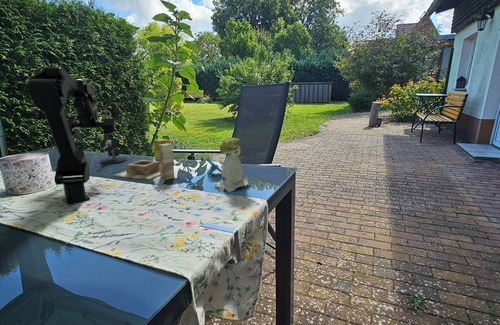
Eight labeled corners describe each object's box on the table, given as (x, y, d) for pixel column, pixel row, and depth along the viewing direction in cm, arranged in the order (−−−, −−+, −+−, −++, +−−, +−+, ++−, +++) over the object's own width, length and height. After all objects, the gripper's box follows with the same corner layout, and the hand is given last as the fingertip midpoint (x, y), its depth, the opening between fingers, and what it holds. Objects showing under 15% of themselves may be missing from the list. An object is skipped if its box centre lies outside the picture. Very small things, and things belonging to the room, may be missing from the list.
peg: (174, 177, 117) (172, 144, 113) (165, 179, 114) (163, 145, 111) (169, 175, 119) (166, 143, 116) (160, 177, 116) (157, 144, 113)
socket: (172, 170, 128) (171, 160, 127) (149, 180, 113) (148, 169, 112) (139, 167, 134) (138, 157, 133) (114, 176, 119) (112, 165, 118)
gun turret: (93, 168, 132) (89, 141, 129) (104, 159, 151) (100, 135, 148) (122, 166, 135) (118, 140, 132) (129, 157, 154) (126, 134, 151)
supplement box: (161, 162, 144) (160, 141, 141) (154, 160, 147) (153, 140, 145) (171, 160, 148) (170, 139, 146) (164, 158, 152) (162, 138, 149)
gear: (228, 174, 116) (210, 158, 113) (218, 184, 115) (200, 169, 112) (223, 170, 126) (206, 156, 123) (214, 180, 125) (197, 166, 123)
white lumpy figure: (255, 185, 106) (255, 137, 102) (232, 194, 97) (231, 141, 92) (232, 179, 114) (231, 134, 109) (208, 187, 104) (206, 138, 100)
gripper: (113, 98, 114) (120, 128, 125) (61, 98, 109) (73, 129, 120) (110, 115, 107) (118, 145, 118) (54, 116, 102) (68, 147, 113)
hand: (94, 141), depth 118 cm, fingers open, 9 cm apart
